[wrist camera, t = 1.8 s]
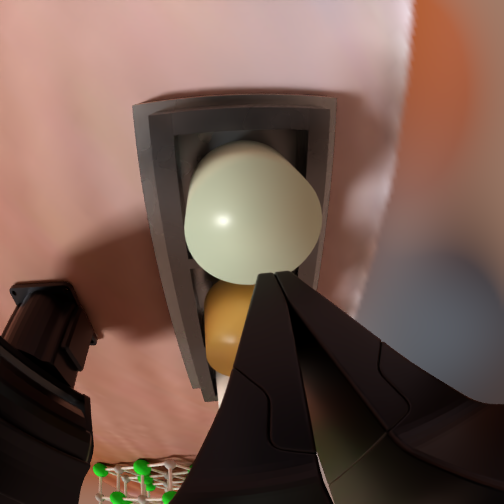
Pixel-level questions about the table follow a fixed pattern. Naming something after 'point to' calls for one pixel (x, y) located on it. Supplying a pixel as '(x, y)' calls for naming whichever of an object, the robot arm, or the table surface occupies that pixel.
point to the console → (178, 180)
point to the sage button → (249, 213)
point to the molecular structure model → (141, 481)
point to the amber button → (225, 322)
